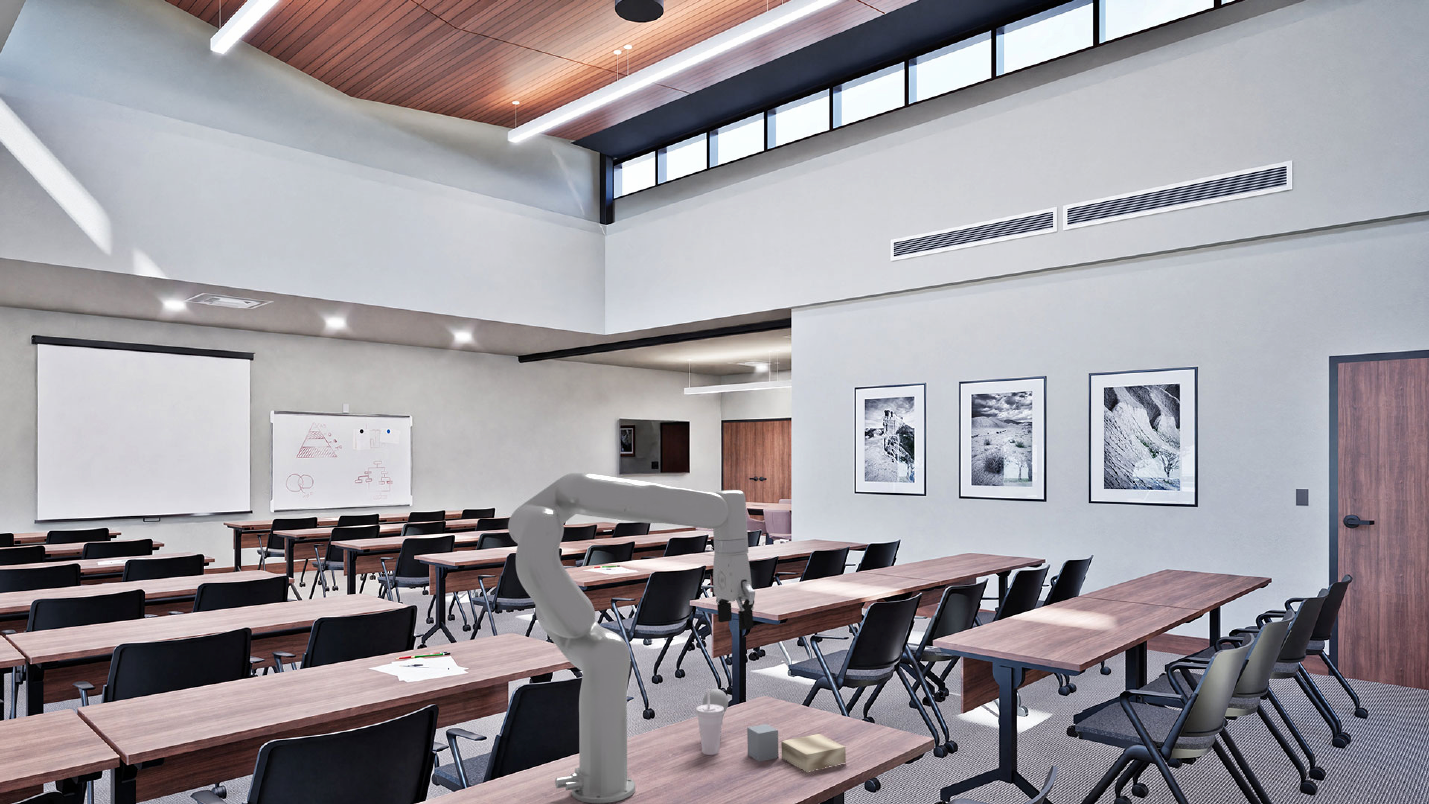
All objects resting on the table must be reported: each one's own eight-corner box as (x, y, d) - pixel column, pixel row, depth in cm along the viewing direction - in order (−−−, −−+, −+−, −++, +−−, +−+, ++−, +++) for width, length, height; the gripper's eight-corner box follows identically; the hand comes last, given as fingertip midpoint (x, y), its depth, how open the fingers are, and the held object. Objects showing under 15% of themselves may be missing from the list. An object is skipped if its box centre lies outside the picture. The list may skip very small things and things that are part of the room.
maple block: (806, 774, 177) (806, 754, 177) (781, 759, 186) (781, 741, 186) (845, 765, 181) (845, 746, 182) (819, 751, 190) (819, 733, 190)
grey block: (758, 761, 184) (758, 733, 184) (747, 754, 188) (747, 727, 188) (778, 757, 186) (778, 730, 186) (767, 751, 190) (766, 723, 191)
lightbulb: (699, 734, 202) (698, 687, 203) (722, 730, 205) (721, 684, 205) (709, 742, 197) (709, 693, 197) (733, 738, 199) (732, 690, 200)
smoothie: (691, 754, 189) (690, 690, 190) (704, 745, 194) (704, 683, 195) (716, 758, 186) (715, 693, 187) (729, 749, 191) (728, 686, 192)
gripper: (698, 545, 191) (702, 621, 191) (734, 552, 176) (739, 634, 175) (727, 541, 195) (731, 616, 194) (765, 548, 179) (770, 629, 179)
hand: (735, 625), depth 185 cm, fingers open, 9 cm apart
